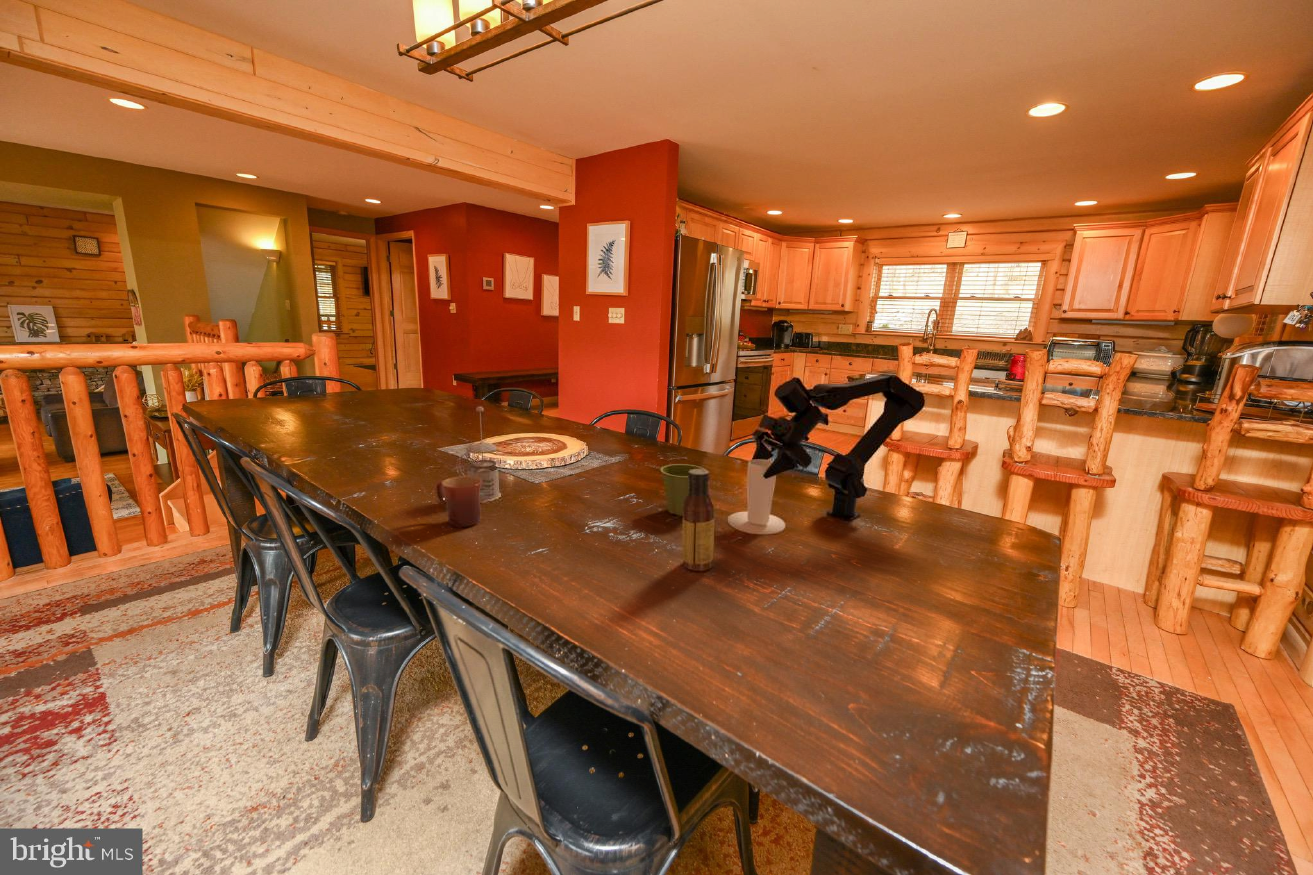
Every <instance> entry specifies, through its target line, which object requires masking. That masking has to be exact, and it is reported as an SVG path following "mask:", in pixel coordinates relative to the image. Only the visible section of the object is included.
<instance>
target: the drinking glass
mask: <svg viewBox="0 0 1313 875" xmlns="http://www.w3.org/2000/svg"><path fill="white" fill-rule="evenodd" d="M773 461H774V460H770V459H768V460H764V459H754V460H752V459H750V460H748V464H747V474H746V475H747V476H746V477H747V478H746V484H747V485H746V488H747V491H746V492H747V495H746V497H747V511H748V513H747V519H748V521H749V522H750V523H753V524H756V525H764V524H767V523H768V522H769V518H770V515H771V509H772V503H773V497H774V491H775V487H776V482H777V481H776V480H777V475H775V476H772V477H770V478H767V479H765V478H764V477H763V475H764V473H765V472H766V470H767V469H768V468H769V466H770V465H771V464H772V463H773Z"/></svg>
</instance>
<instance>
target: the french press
mask: <svg viewBox="0 0 1313 875" xmlns="http://www.w3.org/2000/svg"><path fill="white" fill-rule="evenodd" d="M475 411H476V412H479V421H480V422H479V423H480V424H479V425H480V426H479V427H480V428H482V415H481V414H482V413H481V412H484V407H483V406H477V407H476V409H475ZM482 430H483V429H480V442H475V443H473V444H471V445H468V446H467V447H466V448H465V451H466V452H465V453H463V454H462V455H460V456H459V457H458V459H457V461H456V463H455V464H456V471H457V474H458V475H459V477H461V476H466V475H465V474H464V473H463V471H462V469H461V460H462V458H463V457H464V456H466V459H467V460H468V459H470V454H478V455H479V454H481V459H476V460H473V461H469V462H468V466H469V468H468V470H467V476H473V477H478V478H480V479H482V484H481V487H480V493H479V497H480V502H487V501H493V500H495V499H498V498H499V497H501V494H502V493H501V491H500V487H499V486H500V485H499V484H500V483H499V468H498V466H497V461H495V460H493V459H484V454H491V453H495V452H497V450H498V449H499V448H498V446H497V445H495V444H493V443H490V442H484V441H483V434H482V432H483V431H482ZM458 466H459V468H458ZM482 469H485V470H482ZM489 470H490V471H489ZM459 471H460V472H459ZM478 471H479V472H478ZM460 473H461V474H462V475H461V474H460Z"/></svg>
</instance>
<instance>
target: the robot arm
mask: <svg viewBox="0 0 1313 875" xmlns="http://www.w3.org/2000/svg"><path fill="white" fill-rule="evenodd" d="M773 394H774V396H775V399H777V400H778V401H779V403H780V404H781V405H782V406H783V407H784V409H785V410H786V411H787V413H789V414H793V415H792V416H791V417H790V418H789V419H788V418H786V417H783V416H780V417H778V418H775V417H773V416H770V415H768V414H763V416H762V417H761V420H760V421H759V424H758V427H759V428H758V429H755V431H754V432H752V434H751V436H752V437H753V439H754V442H755V446H756V447H755V451H754V454H753V455H752V458H751V460H754V459H764V460H770V459H771V458H773V457H774V456H775V455H774V453H772V452H775V451H776V450H777V453H776V457H775V459H774V460H772V461H773V463H772V464H771V465H770V466H769V468H768V469H767V470H766V472H765V473H764V475H763V477H764V478H765V479H767V478H770V477H772V476H775V475H776V476H777V475H779V474H783V473H785V472H788V471H791V470H794V469H799V468H800V467H801V468H803V469H804V470H805V469H807V468H808V467H809V466H810V465H811V464H812V459H813V457H812V456H811V455H810V454H809V452H808V451H807V450H806V449H805V448H804V446H803V445H802V443H803V441H804V442H809V440H810V437H809V435H810V434H811V433H812V431H813V430H814V429H815V428H816V427H817V426H818V425H819V424H821V425H825V426H828V425H829V424H830V422H829V420H830V419H829V413H825V412H823V411H822V409H825V410H829V411H837V410H839V409H841V408H843V407H845V406H847V405H848V404H849V403H850V402H851V401H853V400H858V399H861V398H865V397H871V396H874V395H877V394H881V396H882V397H883V398H884V399H885V401H884V403H883V412H882V413H881V414H880V416H878V418H877V419H876V420H875V421H874V423H872V425H871V426H870V427H869V428H868V429H867V430H866V432H865V433H864V434H863V435H862V436H861V438H860V439H859V440H858V441H857V442H856V444H855V445H854V446H853V447H852V448H851V450H850V451H849V452H848V453H846V454H842V453H836V454H835V455H834V456H833V458H832V459H831V460H830V461H829V462H828V463H827V464H826V465H827V467H826V468H825V470H824V478H825V480H826V482H827V486H828V488H829V489H831V490H833V491H834V492H833V501H832V508H831V509H829V510H826V514H827V515H829V516H830V515H831V516H834V517H837V518H840V519H843V520H847V521H851V520H853V519H856V518H858V517H860V516H861V512H858V511H856V510H857V502H858V499H861V498H864V497H865V496H866V495H867V491H868V488H867V487H866V486H865V485H866V484H864V483H863V482H862V479H863V477H864V474H865V468H866V465H867V463H868V462H869V461H870V460H871V459H872V457H873V456H874V455H875V454H876V453H877V451H878V450H880V448H881V447H882V445H883V444H884V443H885V442H886V441H887V440H888V439H889V438H890V436H891V435H892V434H893V433H894V431H895V430H896V429H897V428H898V427H899V426H900V425H901V424H902V423H903V422H904V423H905V422H906V421H909V420H911V419H913V418H914V417H916V416H917V415H918V414H919V413H920V412H921V411H922V410H923V408H925V403H926V399H925V396H924V394H923V392H922V391H919V390H917V389H916V388H915V387H914V386H911V385H910V384H908V383H907V382H905V381H904V380H902V379H901V378H900V376H898V375H896V374H890V373H879V374H878V375H875V376H871V377H866V378H863V379H858V380H853V381H849V382H845V383H830V382H829V383H817V384H815V385H814V386H813V387H812V388H808V389H807V388H806V386H805V384H804V383H803V381H802V380H801V378H800V377H795V376H793V377H792V378H791V379H790V380H787V381H785V382H783V383H781V384H779V385H778V386H777V388H775V391H774V393H773ZM820 408H821V409H820Z"/></svg>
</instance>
